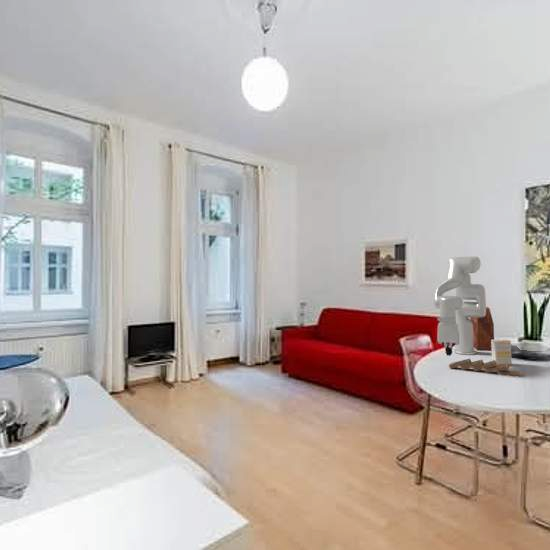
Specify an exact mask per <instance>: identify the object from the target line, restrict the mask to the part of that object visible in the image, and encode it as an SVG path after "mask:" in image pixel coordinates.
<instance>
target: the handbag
mask: <svg viewBox="0 0 550 550" xmlns="http://www.w3.org/2000/svg"><path fill="white" fill-rule="evenodd" d="M469 319H470V320H471V322H472V323H473V332H474V350H475V351H479V350H480V351H481V350H484V351H486V350H487V351H488V350H489V351H492V347H491V340H495V329H494V328H495V327H494V321H493V316H492V313H491V309H490V307H488V306H486V315H485V316H484V317H482V318H475V317H469Z"/></svg>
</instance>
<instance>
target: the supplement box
mask: <svg viewBox="0 0 550 550" xmlns="http://www.w3.org/2000/svg"><path fill="white" fill-rule="evenodd" d="M491 347H492V350H491V361H494V360H495V361H496V363H497V365H503V364H508V365H509V366H512V361H513V360H512V340H510V339H494V340H491Z"/></svg>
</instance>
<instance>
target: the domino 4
mask: <svg viewBox="0 0 550 550" xmlns="http://www.w3.org/2000/svg"><path fill="white" fill-rule="evenodd" d="M483 370H484V373H485V374H487V373H488V374H489V373H497V371H504V370H510V365H508V364H503V365H496V366H494V367H490V368H486V369H483Z"/></svg>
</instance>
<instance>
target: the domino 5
mask: <svg viewBox="0 0 550 550" xmlns="http://www.w3.org/2000/svg"><path fill="white" fill-rule="evenodd" d="M499 374H501V376H507V375H509V376H508V377H516V376H518V377H517V378H522V375H523V371H520V370H519V371H517V370H510V369H508V370H504V371H497V372H496V375H499Z"/></svg>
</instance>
